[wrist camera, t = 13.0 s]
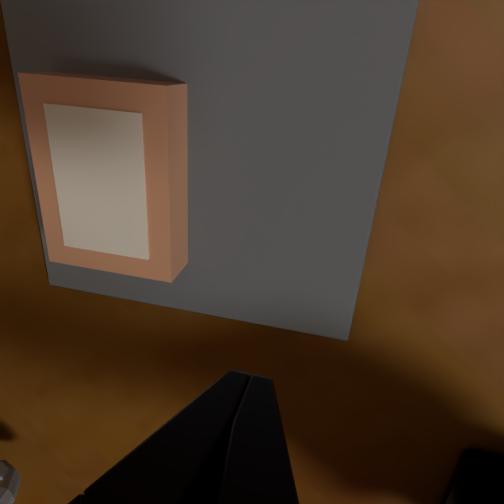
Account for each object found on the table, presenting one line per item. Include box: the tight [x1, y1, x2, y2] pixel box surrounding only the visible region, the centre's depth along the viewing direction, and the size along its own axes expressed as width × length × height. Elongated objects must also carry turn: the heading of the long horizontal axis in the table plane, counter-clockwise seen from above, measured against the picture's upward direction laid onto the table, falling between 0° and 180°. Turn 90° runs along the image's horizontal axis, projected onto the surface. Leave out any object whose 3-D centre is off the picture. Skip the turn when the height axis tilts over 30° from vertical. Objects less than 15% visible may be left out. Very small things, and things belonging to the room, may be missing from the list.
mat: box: [0, 0, 419, 341], centre depth 18 cm, size 15×16×1 cm
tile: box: [18, 72, 188, 283], centre depth 17 cm, size 8×2×6 cm
